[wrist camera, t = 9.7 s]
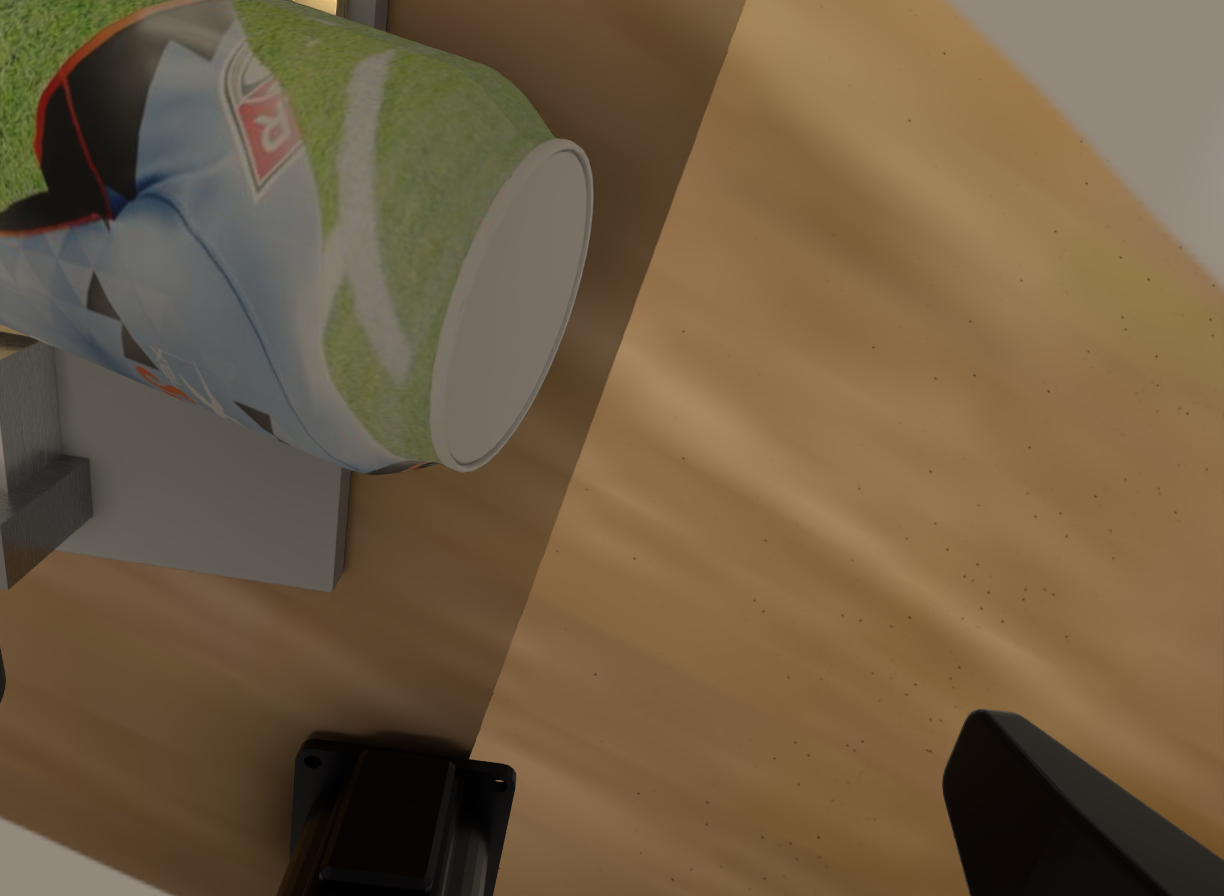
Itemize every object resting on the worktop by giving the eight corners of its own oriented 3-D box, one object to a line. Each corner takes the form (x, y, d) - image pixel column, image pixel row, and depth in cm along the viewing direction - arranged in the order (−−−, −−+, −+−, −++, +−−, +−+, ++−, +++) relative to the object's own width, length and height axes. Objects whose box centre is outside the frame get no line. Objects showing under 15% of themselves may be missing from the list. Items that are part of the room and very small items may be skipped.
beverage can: (-335, 256, 12) (334, 677, 11) (-454, -369, 8) (521, 165, 7) (51, 205, 18) (523, 483, 16) (78, -189, 14) (682, 133, 13)
